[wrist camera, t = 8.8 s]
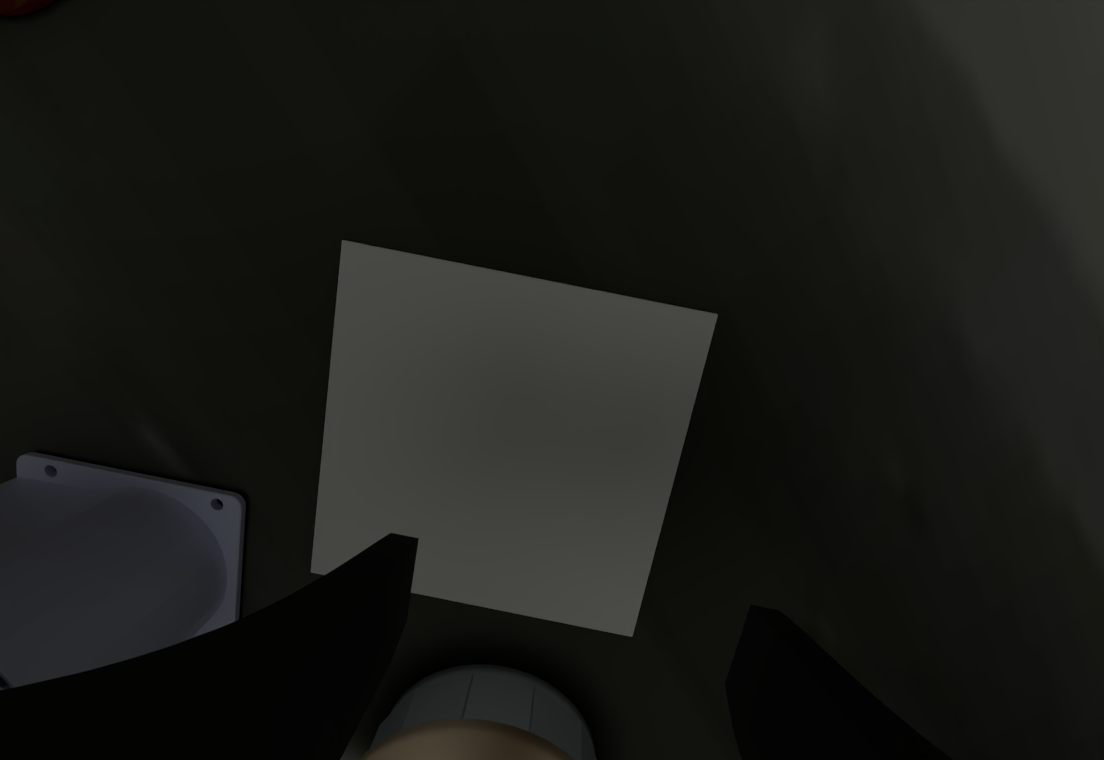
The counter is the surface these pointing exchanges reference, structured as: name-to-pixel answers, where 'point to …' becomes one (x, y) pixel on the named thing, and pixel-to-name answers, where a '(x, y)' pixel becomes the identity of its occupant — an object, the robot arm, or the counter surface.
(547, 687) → the bowl
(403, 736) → the lid
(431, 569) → the mat
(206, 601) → the robot arm
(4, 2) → the canned food
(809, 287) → the counter surface
